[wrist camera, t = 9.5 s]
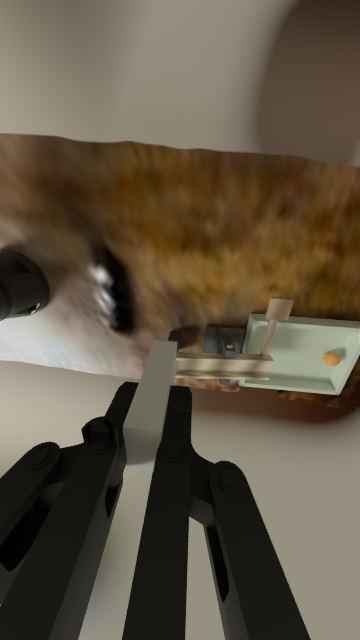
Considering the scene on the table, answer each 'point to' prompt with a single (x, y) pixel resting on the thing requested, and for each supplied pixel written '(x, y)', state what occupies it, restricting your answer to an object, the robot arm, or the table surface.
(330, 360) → the ball
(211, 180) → the table surface
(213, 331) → the stand
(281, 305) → the lever
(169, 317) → the table surface
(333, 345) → the tray
